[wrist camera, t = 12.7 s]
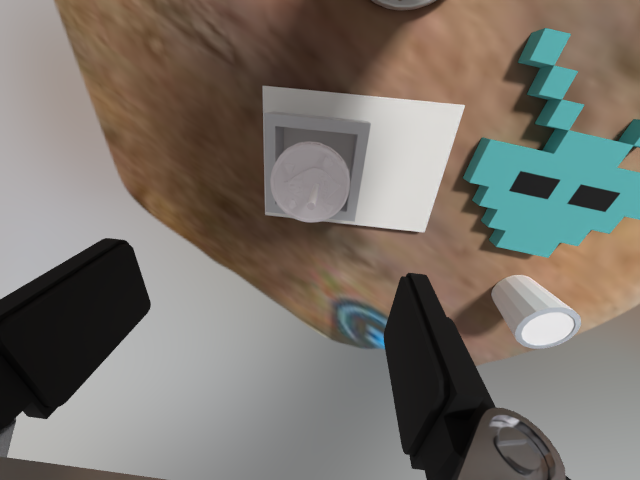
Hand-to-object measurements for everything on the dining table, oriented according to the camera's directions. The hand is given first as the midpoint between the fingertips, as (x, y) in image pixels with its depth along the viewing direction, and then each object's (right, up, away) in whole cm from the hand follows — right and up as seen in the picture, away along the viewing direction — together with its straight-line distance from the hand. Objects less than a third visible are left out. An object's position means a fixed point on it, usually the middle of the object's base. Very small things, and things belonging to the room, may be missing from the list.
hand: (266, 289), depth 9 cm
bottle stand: (+6, +10, +20) cm, 23 cm away
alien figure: (+29, +10, +19) cm, 36 cm away
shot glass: (+29, -5, +27) cm, 40 cm away
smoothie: (+2, +11, +20) cm, 22 cm away
